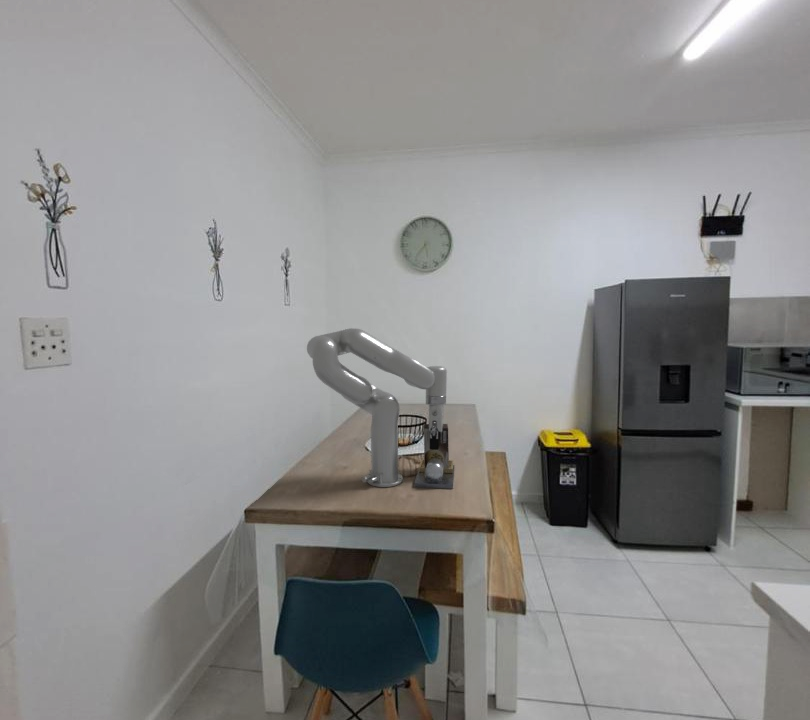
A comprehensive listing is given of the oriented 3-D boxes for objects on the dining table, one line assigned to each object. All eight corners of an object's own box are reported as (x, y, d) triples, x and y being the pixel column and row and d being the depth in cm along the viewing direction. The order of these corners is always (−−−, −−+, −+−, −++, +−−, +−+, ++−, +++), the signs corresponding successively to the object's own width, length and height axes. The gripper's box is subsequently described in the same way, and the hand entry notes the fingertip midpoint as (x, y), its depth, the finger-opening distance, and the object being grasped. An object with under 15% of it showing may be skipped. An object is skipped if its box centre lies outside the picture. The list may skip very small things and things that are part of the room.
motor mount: (452, 488, 142) (452, 467, 142) (414, 487, 144) (414, 465, 143) (454, 468, 162) (454, 449, 161) (420, 467, 164) (420, 448, 163)
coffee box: (448, 465, 161) (448, 423, 159) (449, 471, 154) (448, 427, 153) (424, 465, 161) (423, 423, 160) (424, 470, 155) (423, 427, 153)
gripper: (444, 404, 146) (444, 453, 148) (447, 396, 163) (446, 440, 165) (423, 403, 147) (422, 451, 149) (427, 395, 164) (427, 439, 166)
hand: (435, 445), depth 157 cm, fingers open, 9 cm apart
